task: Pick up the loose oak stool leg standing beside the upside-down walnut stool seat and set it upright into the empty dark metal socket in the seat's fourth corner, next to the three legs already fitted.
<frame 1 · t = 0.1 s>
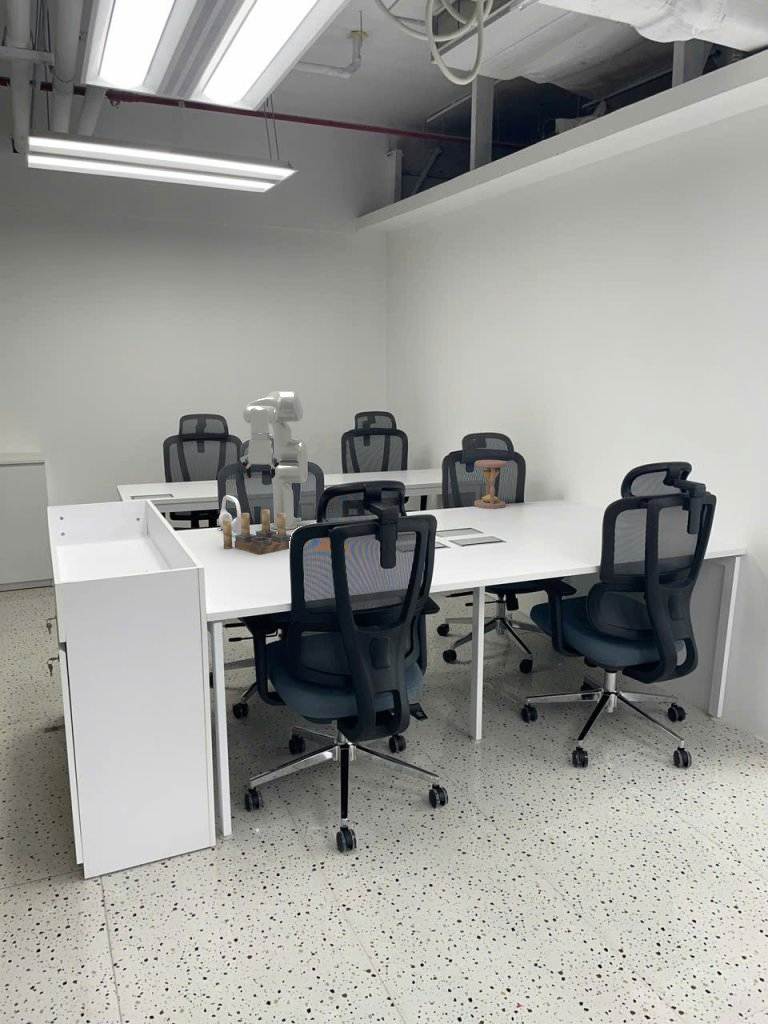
hand: (261, 477, 316), 31 cm above the table, tool pointing down, fingers open, 9 cm apart
oak leg: (228, 547, 326), on the table
hourglass: (489, 506, 424), on the table
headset: (231, 533, 354), on the table
stool: (264, 547, 326), on the table
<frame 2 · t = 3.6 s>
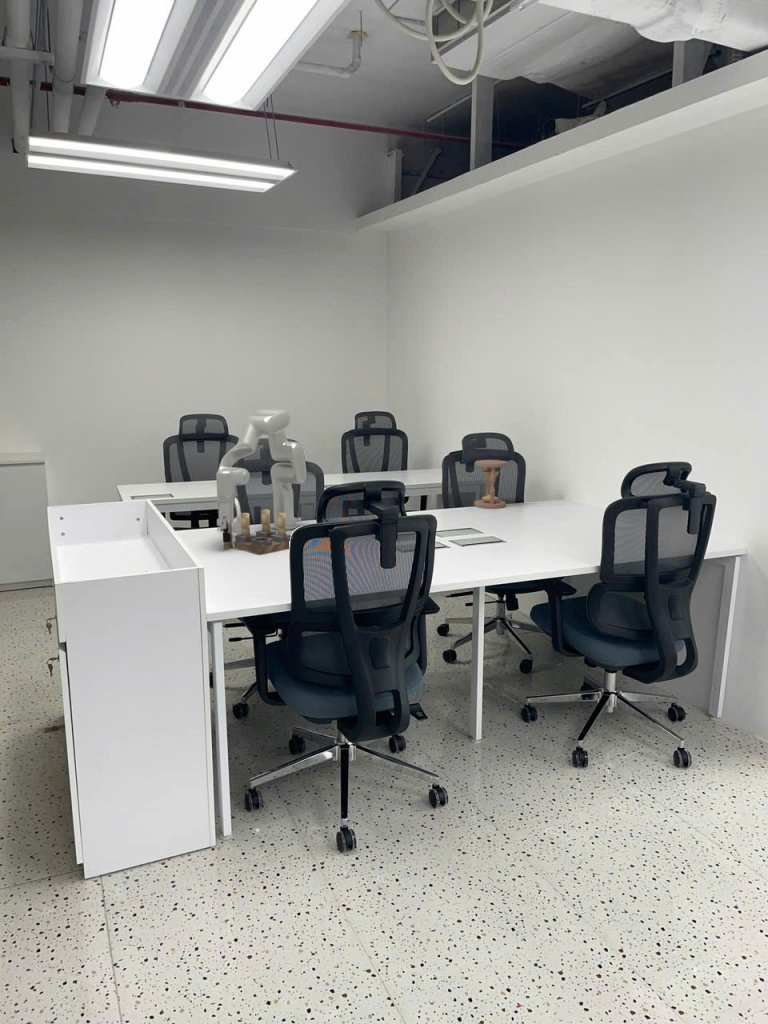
hand: (227, 540, 325), 3 cm above the table, tool pointing down, fingers closed on oak leg, 3 cm apart
oak leg: (228, 547, 326), on the table, touching gripper
everything else where it was.
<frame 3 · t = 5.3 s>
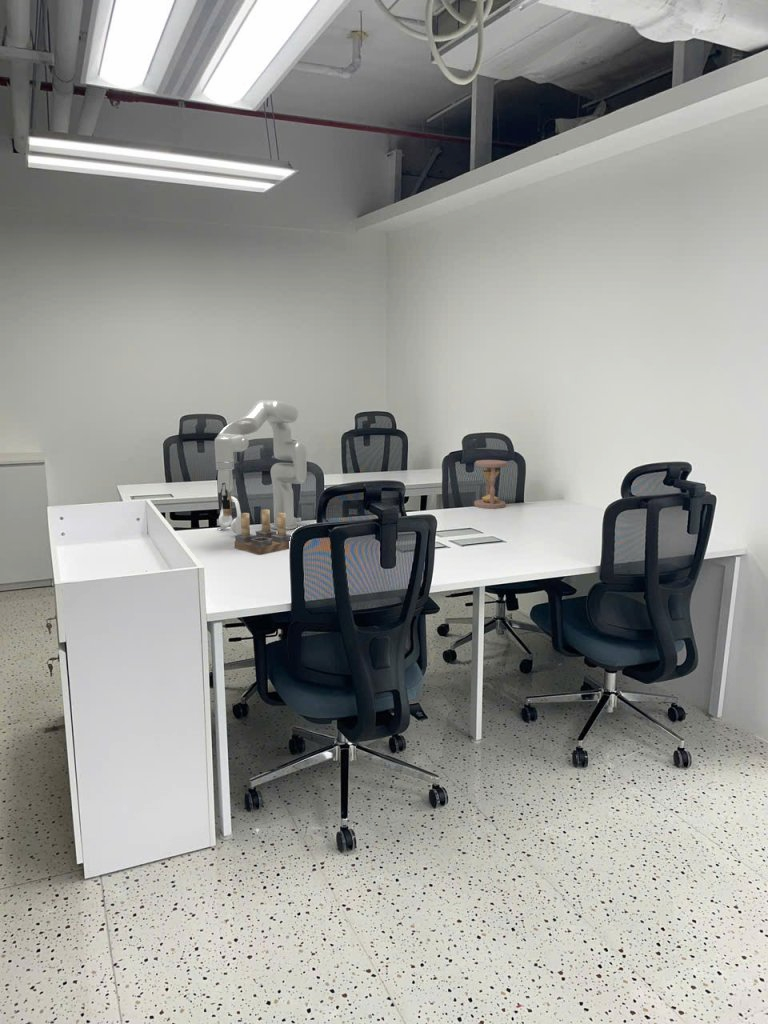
hand: (227, 507, 323), 18 cm above the table, tool pointing down, fingers closed on oak leg, 3 cm apart
oak leg: (227, 515, 323), point 14 cm above the table, touching gripper
everything else where it was.
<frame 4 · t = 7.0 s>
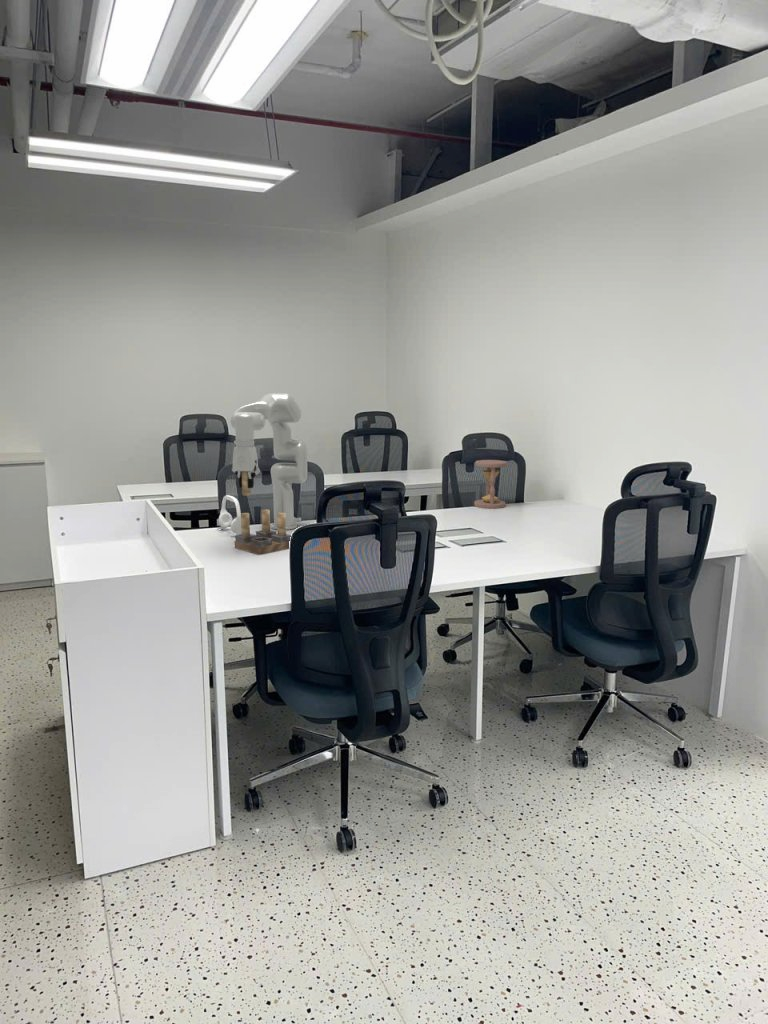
hand: (246, 487, 316), 27 cm above the table, tool pointing down, fingers closed on oak leg, 3 cm apart
oak leg: (246, 494, 316), point 24 cm above the table, touching gripper
everything else where it was.
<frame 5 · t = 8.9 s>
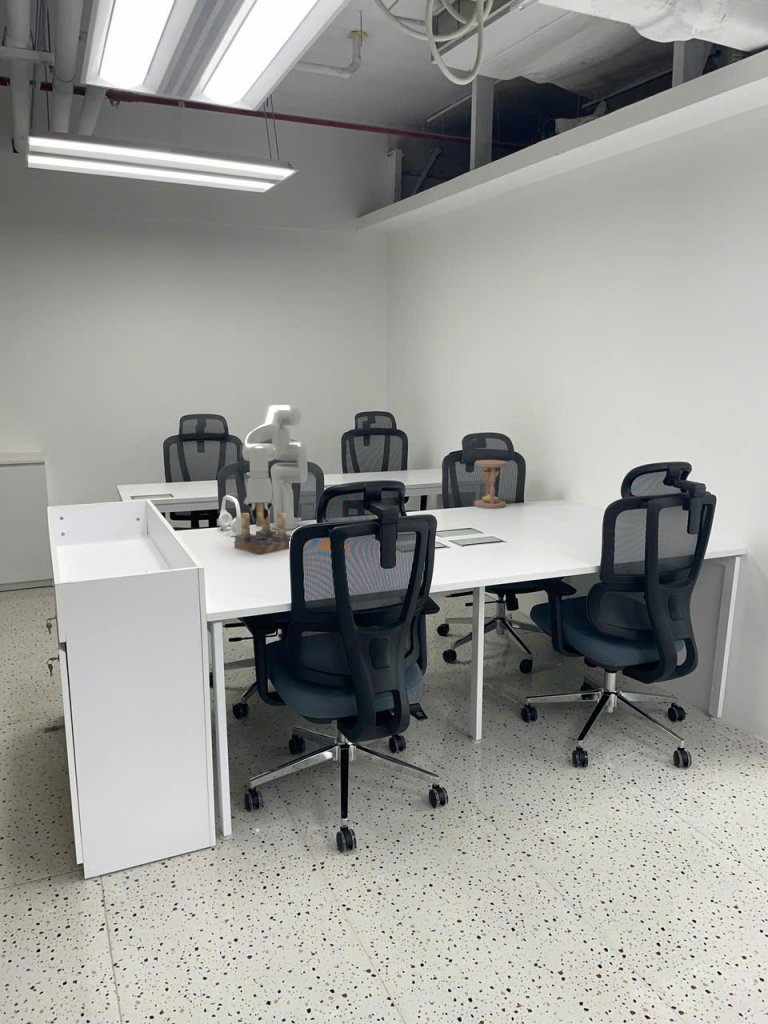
hand: (260, 518, 315), 15 cm above the table, tool pointing down, fingers closed on oak leg, 3 cm apart
oak leg: (260, 525, 316), point 11 cm above the table, touching gripper
everything else where it was.
when the fingers open (7 cm above the table, at t = 10.7 s): oak leg stays where it is, resting on stool.
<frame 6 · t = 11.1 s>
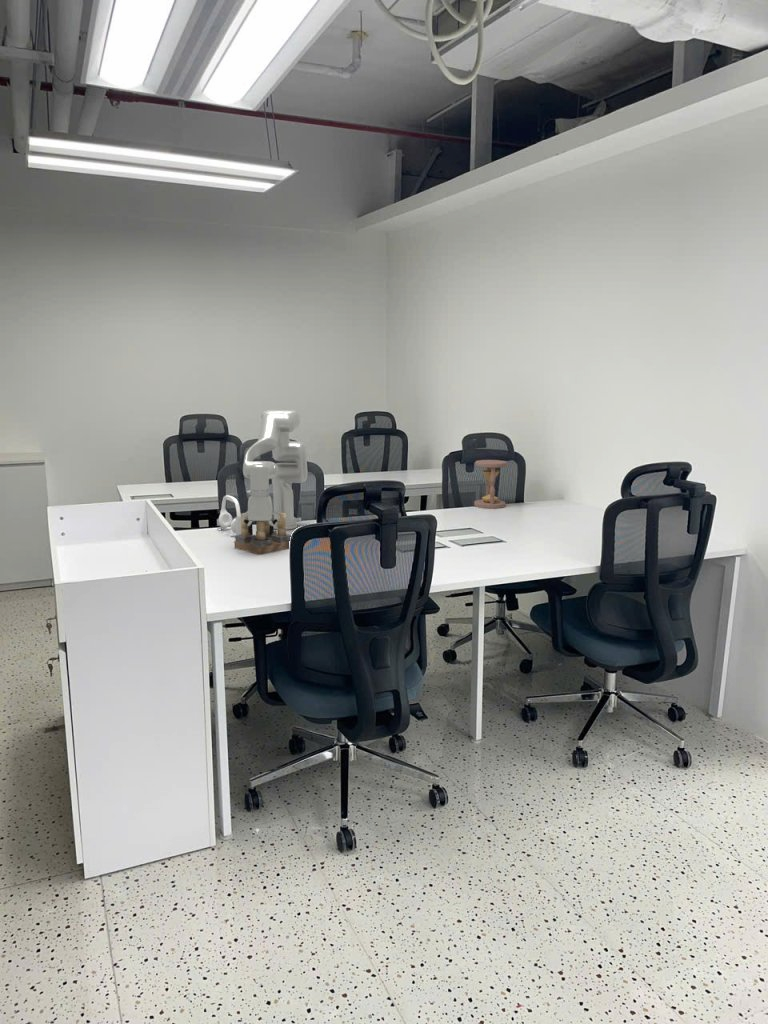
hand: (261, 534, 317), 8 cm above the table, tool pointing down, fingers open, 7 cm apart
oak leg: (261, 545, 318), point 3 cm above the table, touching stool
everything else where it was.
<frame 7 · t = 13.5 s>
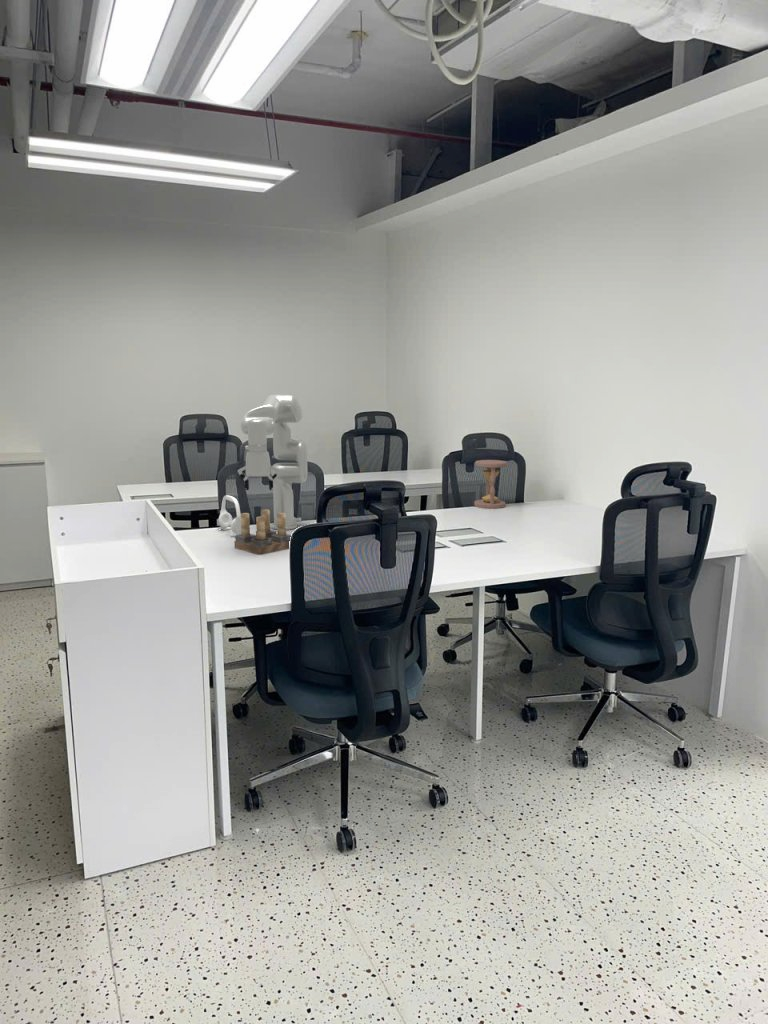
hand: (259, 489, 315), 26 cm above the table, tool pointing down, fingers open, 9 cm apart
nothing on the table moved.
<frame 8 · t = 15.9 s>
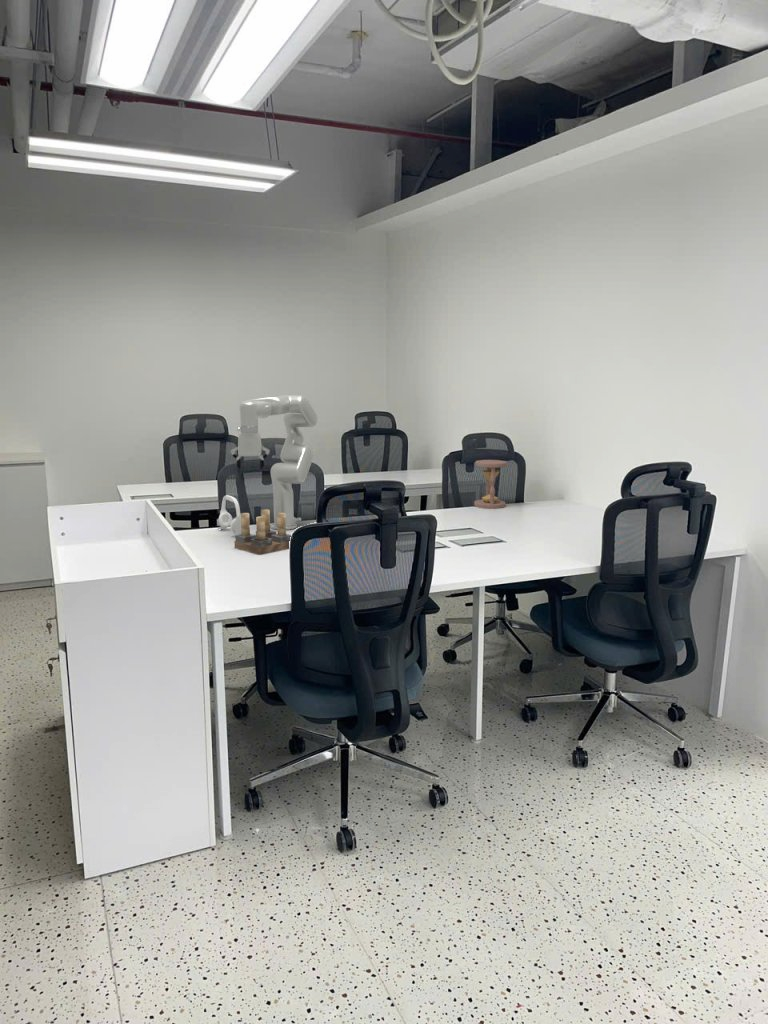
hand: (250, 468, 335), 32 cm above the table, tool pointing down, fingers open, 9 cm apart
nothing on the table moved.
at the end: oak leg 0.0 cm from the target spot on the stool, point 3.0 cm above the stool's base; oak leg tilted 0°; the gripper is holding nothing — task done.
